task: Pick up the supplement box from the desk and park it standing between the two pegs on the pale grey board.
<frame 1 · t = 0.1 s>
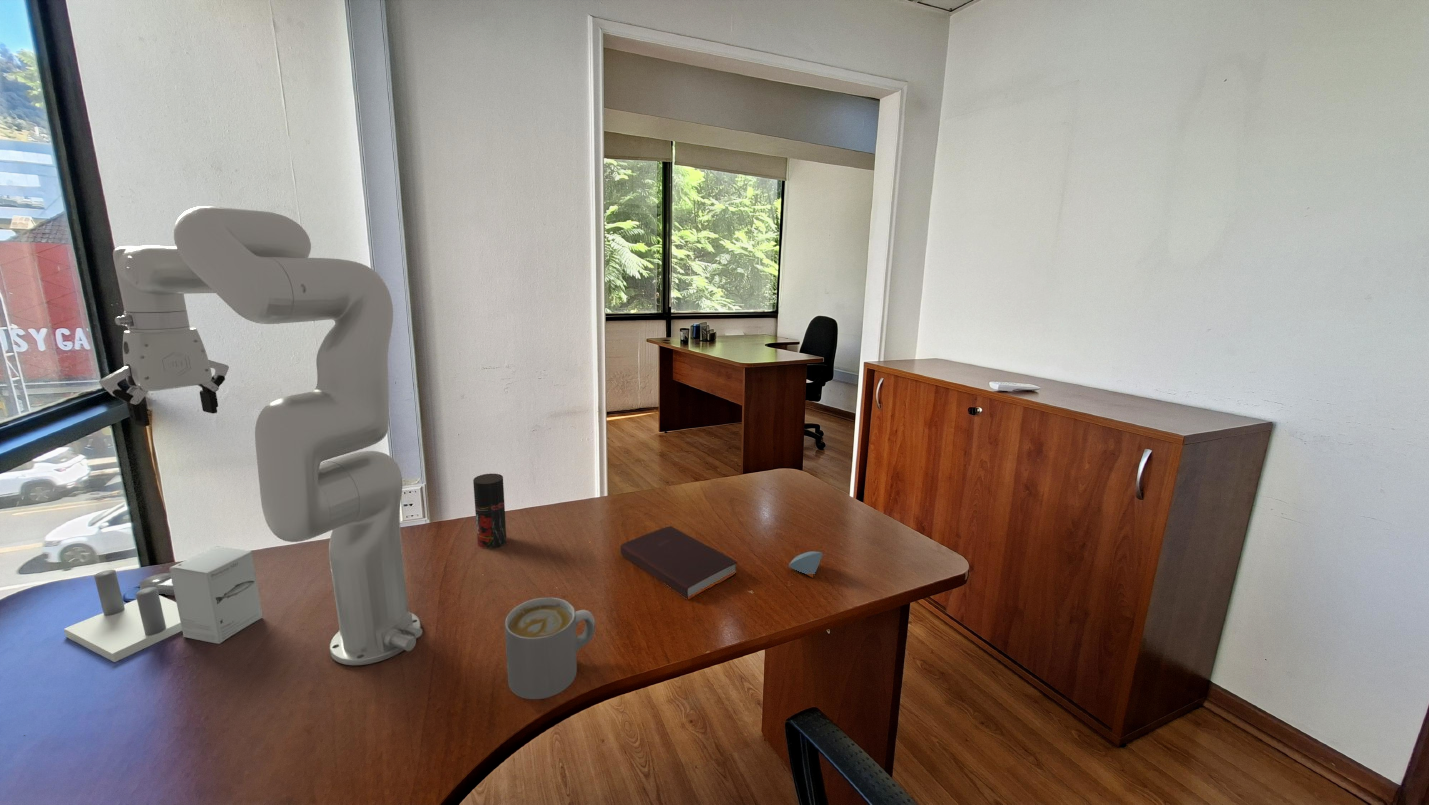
hand: (177, 418, 99), 31 cm above the table, fingers open, 9 cm apart
book: (677, 567, 116), on the table
supplement box: (225, 628, 92), on the table
deodorant: (492, 543, 123), on the table
cradle: (136, 628, 91), on the table
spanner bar: (196, 591, 101), on the table
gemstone: (804, 573, 116), on the table
coffee mug: (554, 672, 85), on the table
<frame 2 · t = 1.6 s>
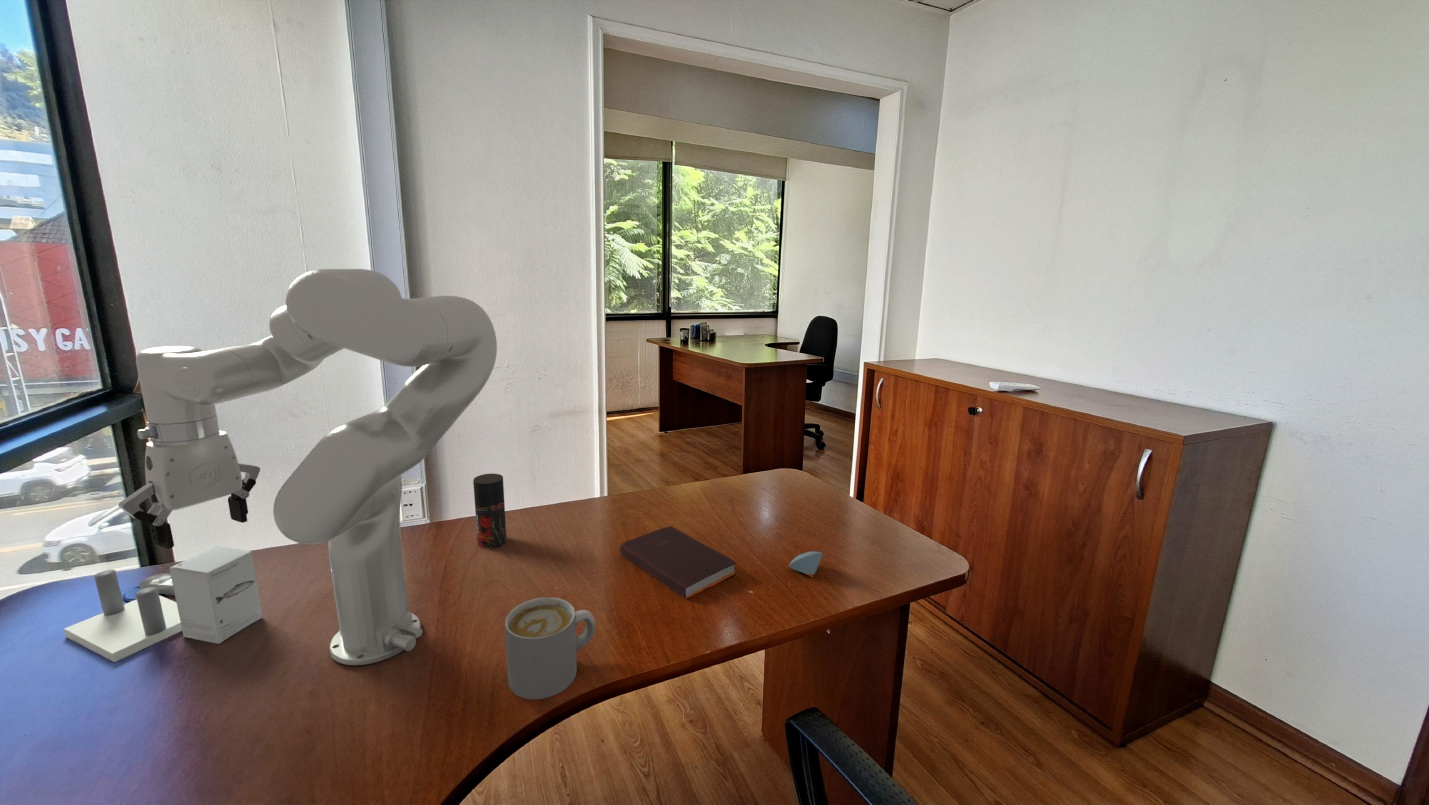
hand: (204, 532, 88), 17 cm above the table, fingers open, 9 cm apart
nothing on the table moved.
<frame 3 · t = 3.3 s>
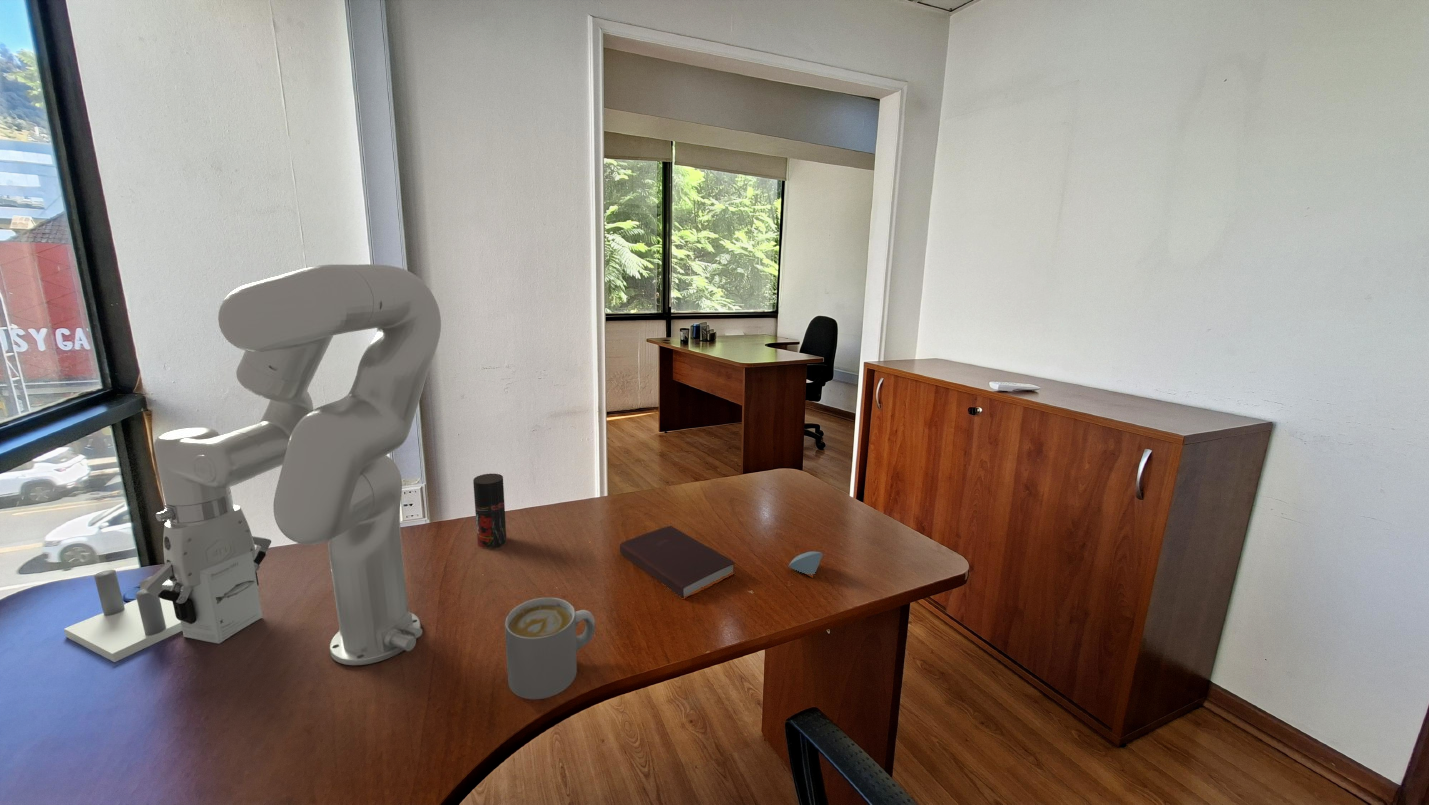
hand: (220, 605, 91), 4 cm above the table, fingers closed on supplement box, 8 cm apart
supplement box: (225, 628, 92), on the table, touching gripper
everything else where it was.
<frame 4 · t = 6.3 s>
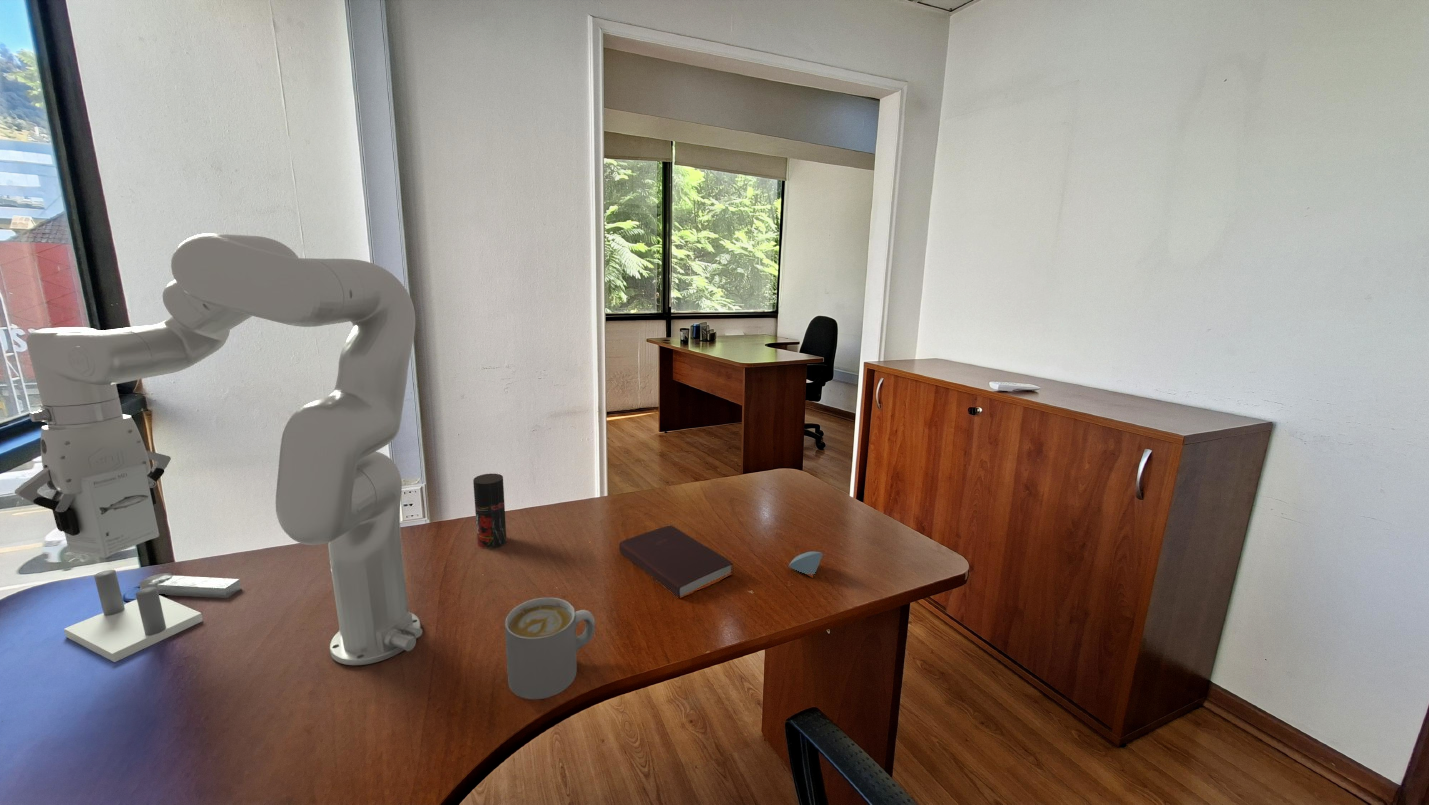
hand: (110, 521, 86), 19 cm above the table, fingers closed on supplement box, 8 cm apart
supplement box: (116, 545, 87), point 15 cm above the table, touching gripper
everything else where it was.
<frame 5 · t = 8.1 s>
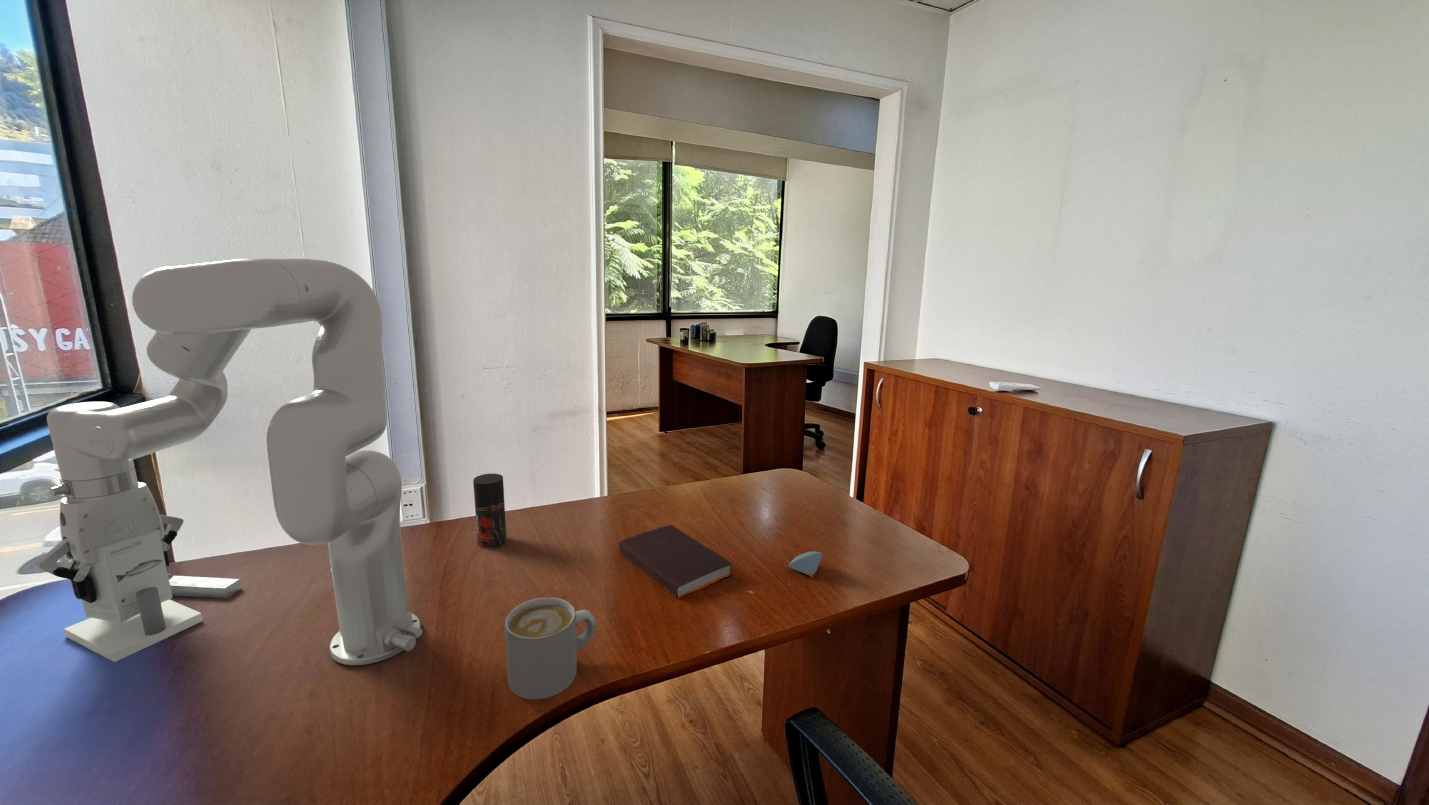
hand: (126, 585, 89), 8 cm above the table, fingers closed on supplement box, 8 cm apart
supplement box: (131, 608, 90), point 4 cm above the table, touching gripper
everything else where it was.
when the fingers open (7 cm above the table, at t = 9.4 s): supplement box drops 1 cm, resting on cradle.
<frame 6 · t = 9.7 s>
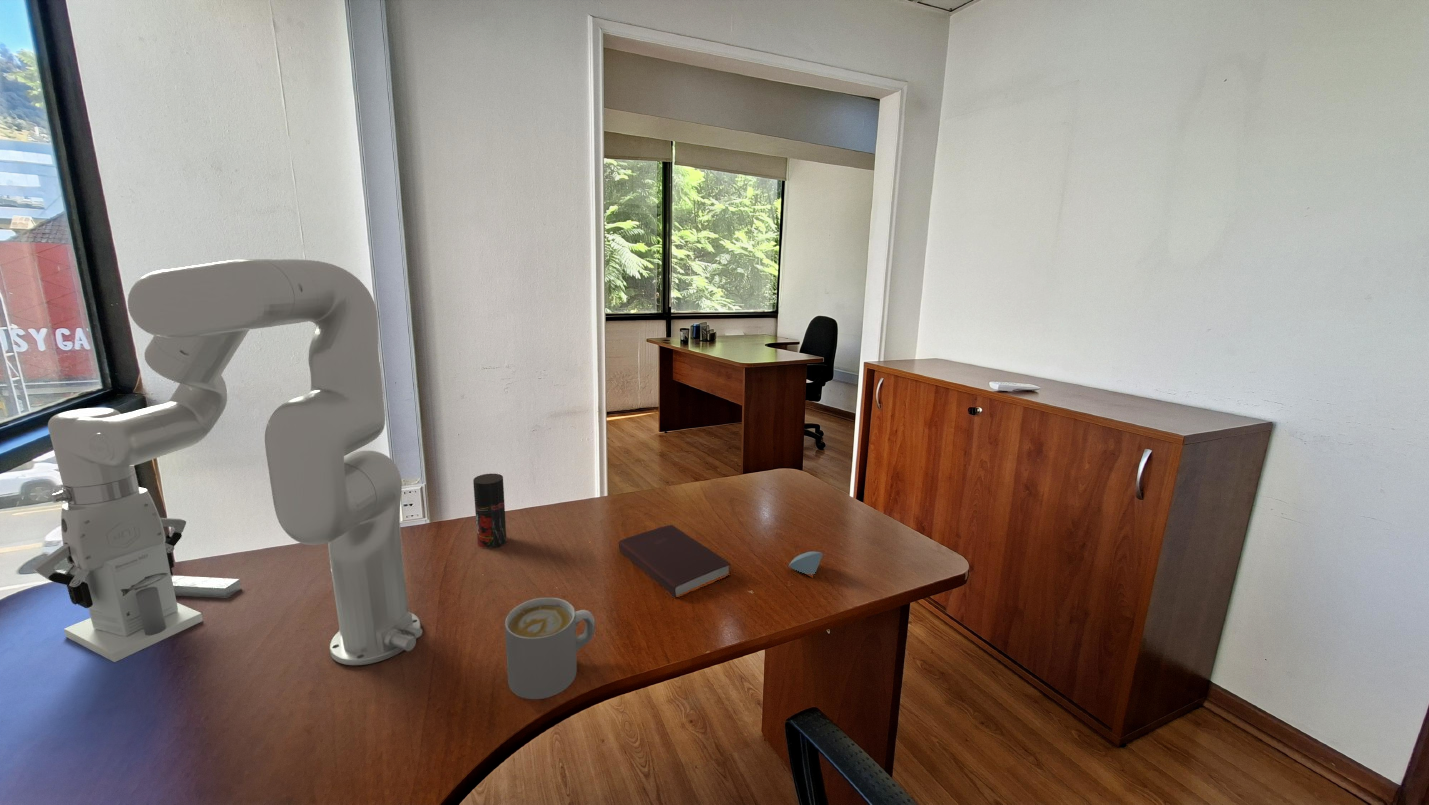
hand: (126, 589, 89), 7 cm above the table, fingers open, 9 cm apart
supplement box: (137, 620, 91), point 1 cm above the table, touching cradle
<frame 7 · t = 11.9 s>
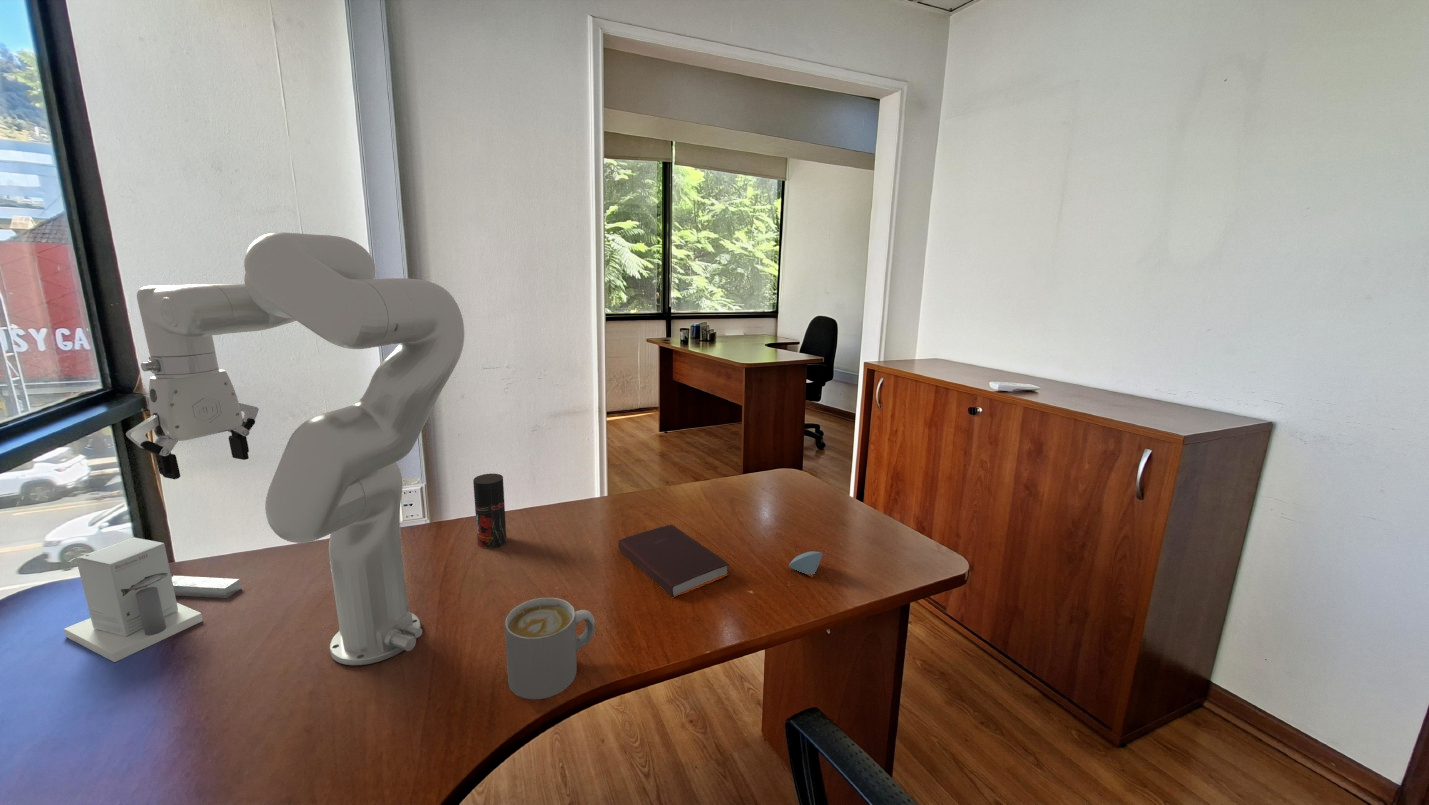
hand: (208, 467, 92), 26 cm above the table, fingers open, 9 cm apart
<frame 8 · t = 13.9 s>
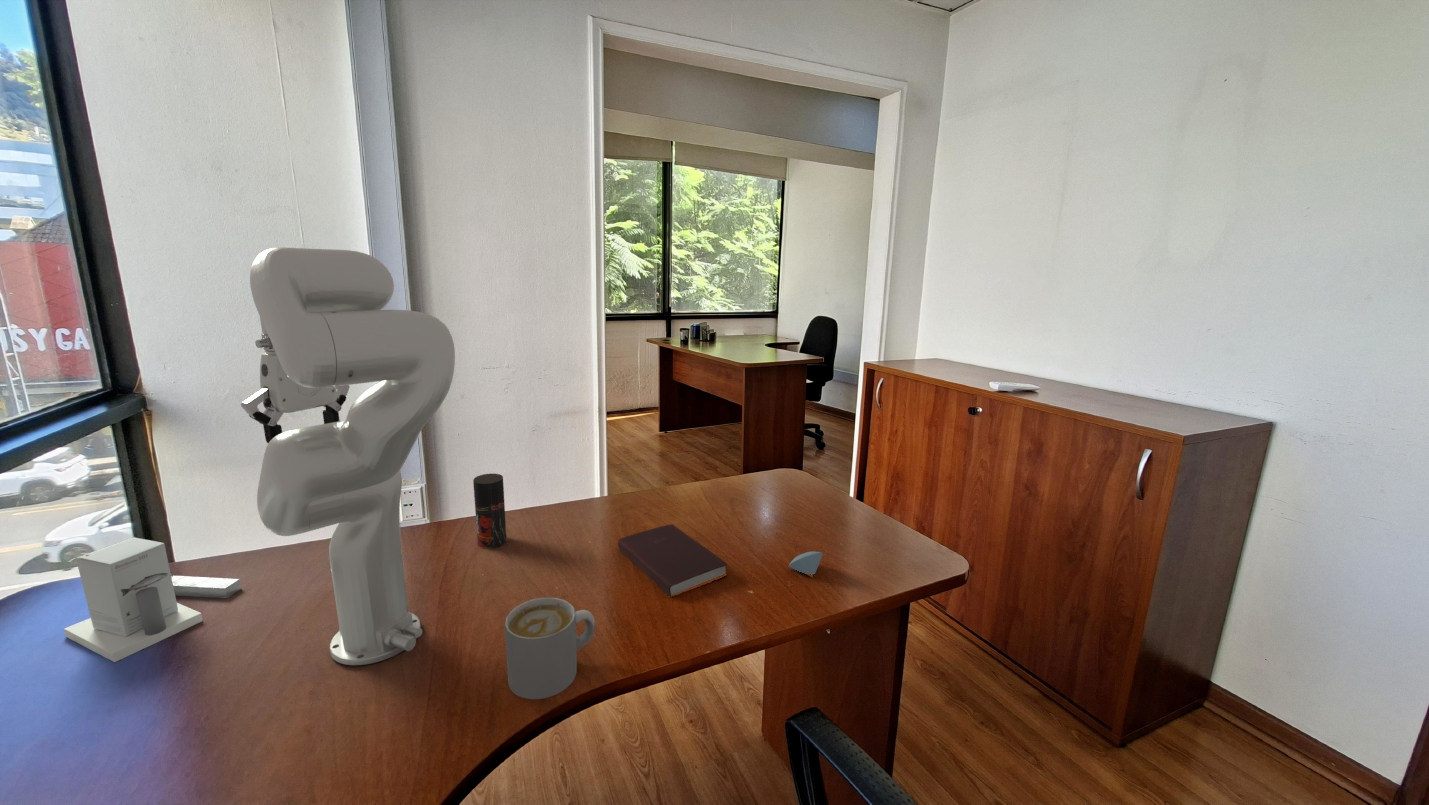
hand: (305, 438, 99), 28 cm above the table, fingers open, 9 cm apart
at the end: supplement box 0.4 cm from the cradle (horizontally); supplement box tilted 0°; the gripper is holding nothing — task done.
